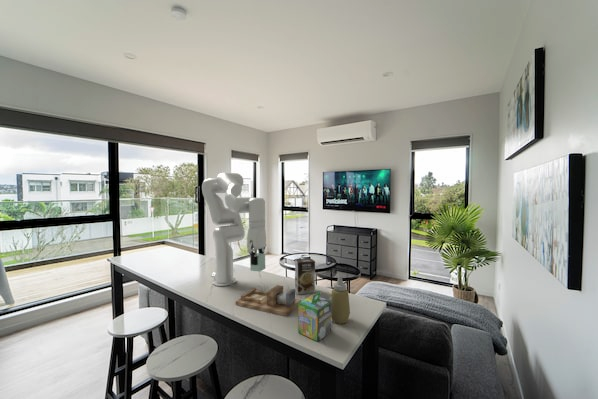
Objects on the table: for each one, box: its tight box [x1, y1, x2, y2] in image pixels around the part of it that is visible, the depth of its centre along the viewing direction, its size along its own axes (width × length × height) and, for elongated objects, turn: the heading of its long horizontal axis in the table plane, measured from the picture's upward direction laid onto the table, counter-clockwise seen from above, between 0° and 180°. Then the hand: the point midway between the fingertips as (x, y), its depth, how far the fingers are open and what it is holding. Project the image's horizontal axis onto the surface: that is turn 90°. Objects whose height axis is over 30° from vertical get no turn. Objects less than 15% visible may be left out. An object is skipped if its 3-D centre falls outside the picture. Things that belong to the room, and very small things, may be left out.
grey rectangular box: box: [276, 288, 296, 307], centre depth 113 cm, size 11×6×6 cm, turn 66°
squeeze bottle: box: [330, 274, 351, 325], centre depth 101 cm, size 8×8×18 cm
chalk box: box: [297, 290, 333, 343], centre depth 92 cm, size 9×9×15 cm
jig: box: [235, 284, 302, 317], centre depth 116 cm, size 26×14×7 cm, turn 66°
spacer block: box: [249, 252, 266, 272], centre depth 119 cm, size 5×5×7 cm
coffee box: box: [294, 258, 316, 295], centre depth 130 cm, size 9×6×16 cm
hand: (257, 262), depth 119 cm, fingers closed on spacer block, 4 cm apart
